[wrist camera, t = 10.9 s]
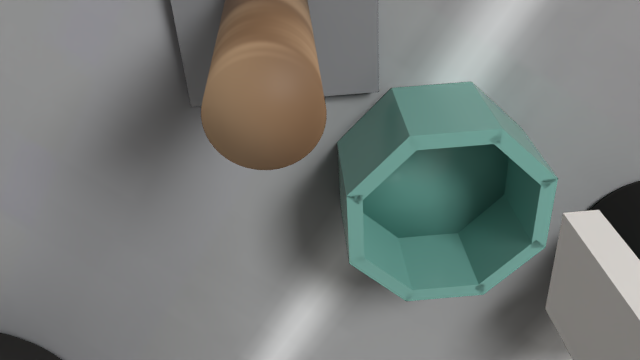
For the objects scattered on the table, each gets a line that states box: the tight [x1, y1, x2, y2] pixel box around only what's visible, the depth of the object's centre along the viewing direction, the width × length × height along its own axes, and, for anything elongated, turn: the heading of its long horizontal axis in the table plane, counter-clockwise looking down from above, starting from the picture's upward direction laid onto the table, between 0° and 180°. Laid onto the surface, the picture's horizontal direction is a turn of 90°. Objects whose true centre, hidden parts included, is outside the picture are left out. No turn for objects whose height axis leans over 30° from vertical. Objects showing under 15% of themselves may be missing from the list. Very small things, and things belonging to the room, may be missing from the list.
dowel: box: [201, 0, 326, 170], centre depth 25 cm, size 4×4×12 cm
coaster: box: [170, 0, 379, 107], centre depth 30 cm, size 10×10×1 cm
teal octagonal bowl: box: [337, 82, 558, 301], centre depth 34 cm, size 11×11×6 cm
